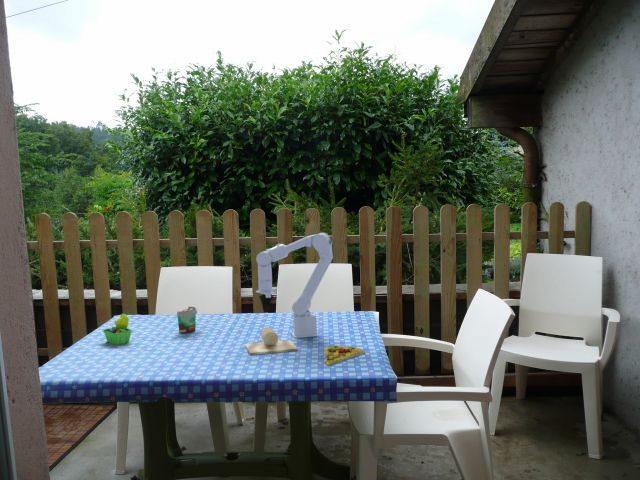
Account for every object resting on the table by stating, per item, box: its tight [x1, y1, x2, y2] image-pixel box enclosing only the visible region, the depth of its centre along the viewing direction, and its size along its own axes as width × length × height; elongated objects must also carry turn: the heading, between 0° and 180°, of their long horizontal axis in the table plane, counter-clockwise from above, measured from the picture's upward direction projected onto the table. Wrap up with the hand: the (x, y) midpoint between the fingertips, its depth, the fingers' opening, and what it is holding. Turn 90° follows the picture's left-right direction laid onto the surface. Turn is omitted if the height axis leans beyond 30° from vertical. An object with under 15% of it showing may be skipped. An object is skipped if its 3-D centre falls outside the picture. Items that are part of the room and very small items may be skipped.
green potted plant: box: [102, 313, 133, 346], centre depth 232 cm, size 11×9×11 cm
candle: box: [260, 327, 279, 346], centre depth 220 cm, size 6×6×10 cm
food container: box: [176, 305, 198, 335], centre depth 248 cm, size 12×6×10 cm, turn 168°
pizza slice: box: [324, 345, 366, 367], centre depth 201 cm, size 16×21×3 cm
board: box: [244, 339, 298, 356], centre depth 216 cm, size 18×14×1 cm
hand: (266, 312), depth 237 cm, fingers closed
